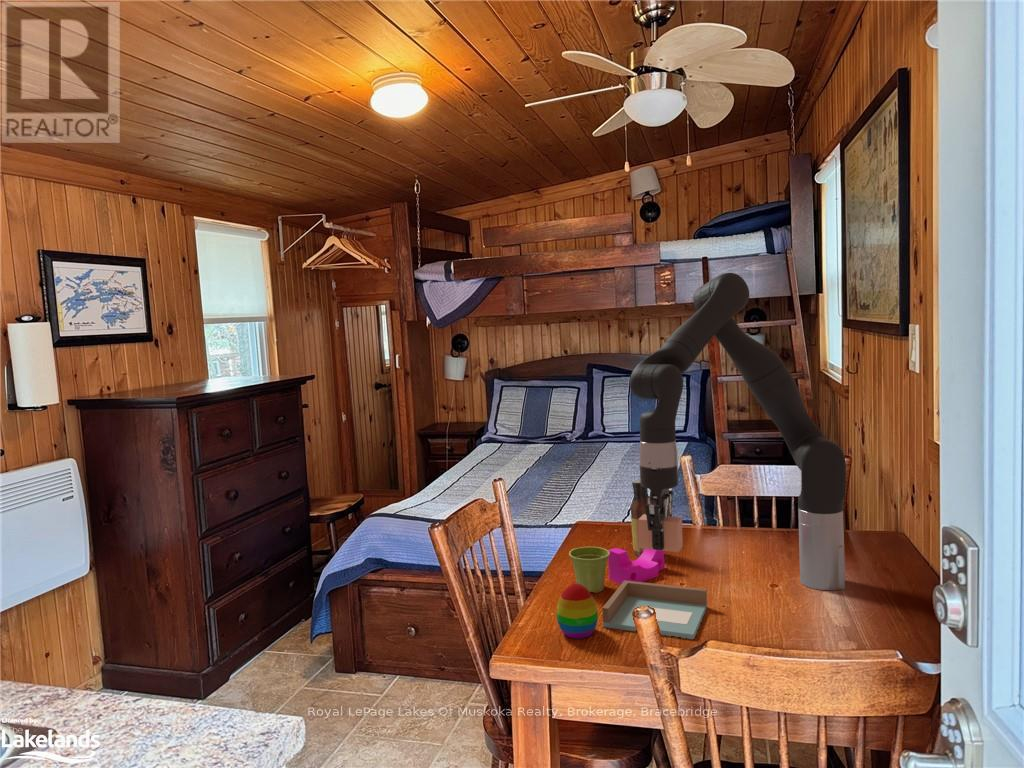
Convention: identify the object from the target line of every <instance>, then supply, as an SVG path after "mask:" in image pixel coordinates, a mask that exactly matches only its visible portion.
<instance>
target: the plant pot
mask: <svg viewBox="0 0 1024 768" xmlns="http://www.w3.org/2000/svg"><path fill="white" fill-rule="evenodd" d="M608 550H609V549H606V548H603V547H599V546H581V547H576V548H572V549H571V550H570V551H569V553H568V555H569V557H570V559H571V562H572V564H573V569H574V575H575V582H576V583H577V584H581V585H583V586H584V587H585V588H587V589H588V591H589V592H590V593H594V594H595V593H596V594H597V593H600V592H603V590H604V588H605V579H606V571H607V563H608V562H609V561H608V556H609V555H610V552H609V551H608Z"/></svg>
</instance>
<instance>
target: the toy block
mask: <svg viewBox="0 0 1024 768" xmlns="http://www.w3.org/2000/svg"><path fill="white" fill-rule="evenodd" d="M607 550H608V551H609V552H610V555H609V556H608V561H607V562H608V577H609V578H608V579H609V581H613V582H615V583H617V584H619V585H621V584H622V583H623V581H624V580H625V581H634V582H645V581H648V580H651V579H653V578H656V577H659V575H660V574H659V571H662V570H664V569H665V568H666V567H665V551H662V550H652V549H644V551H643V553H642V554H641V556H640V557H639V556H638V557H637V558H636V559H635V560H633V561H631V560H630V558H629V557H630V556H629V555H628V551H626V550H624V549H621V548H618V547H615V548H612V549H607Z"/></svg>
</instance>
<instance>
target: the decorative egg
mask: <svg viewBox="0 0 1024 768" xmlns="http://www.w3.org/2000/svg"><path fill="white" fill-rule="evenodd" d="M557 601H558V602H557V605H556V619H557V625H558V627H559V628H560V630H561V632H562V633H563V635H565V636H566V637H568V638H571V639H578V640H579V639H586V638H587V637H590V636H591V635H592V634H593V633H594V631H595V630H596V627H597V625H598V624H597V623H598V618H599V617H598V616H599V614H598V607H597V603H596V600H595V599H594V597H593V595H592V592H589V591H588V589H587V588H585V587H584V586H583V585H581V584H577V582H576V583H571V584H570V585H568V586H566V588H565V589H564V590H563V591H562V593H561V594H560V596H559V598H558V600H557Z"/></svg>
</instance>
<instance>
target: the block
mask: <svg viewBox="0 0 1024 768" xmlns="http://www.w3.org/2000/svg"><path fill="white" fill-rule="evenodd" d="M654 525H657V522H654ZM638 531H639V548H641V549H652V550H655V549H653V547H652V531H649V530H648V524H647V516H646V515H645V514H643V515H642V516H641V517H640V518H639V519H638ZM682 548H683V517H681V516H673V515H672V516H668V517H667V519H666V520H664V549H663V550H662V551H664V552H671V553H672V552H674V553H679V552H680V551H681V550H682Z"/></svg>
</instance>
